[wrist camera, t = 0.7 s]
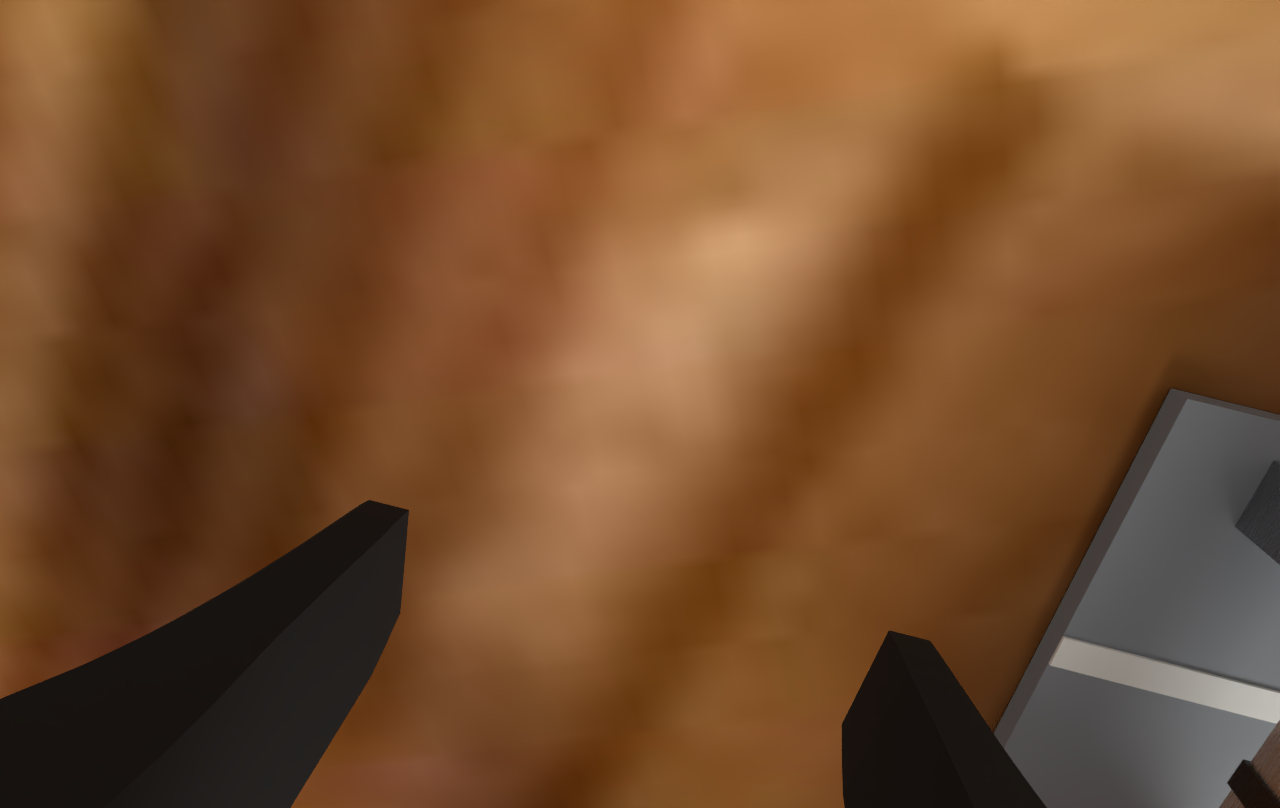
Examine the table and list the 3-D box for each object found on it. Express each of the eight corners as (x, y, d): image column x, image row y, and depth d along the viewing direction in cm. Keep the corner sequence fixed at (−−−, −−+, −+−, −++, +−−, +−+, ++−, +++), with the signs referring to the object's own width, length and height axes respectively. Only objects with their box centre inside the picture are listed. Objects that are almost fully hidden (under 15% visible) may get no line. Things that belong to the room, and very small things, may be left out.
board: (1108, 1036, 29) (1119, 1064, 28) (870, 971, 29) (874, 997, 28) (1517, 473, 20) (1552, 489, 19) (1171, 387, 20) (1189, 399, 19)
